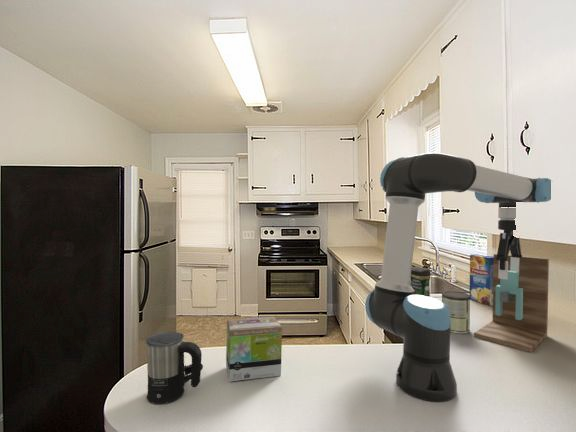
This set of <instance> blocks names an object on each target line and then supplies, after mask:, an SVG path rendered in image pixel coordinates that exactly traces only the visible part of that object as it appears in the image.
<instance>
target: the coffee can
mask: <svg viewBox="0 0 576 432" xmlns="http://www.w3.org/2000/svg"><path fill="white" fill-rule="evenodd" d="M441 301H442V302H443V303H444V304H446V305H447V307H448V308H449V311H450V320H451V328H450V333H454V334H463V335H464V334H468V333H470V332H471V330H470V328H471V327H470V323H471V317H470V316H471V312H470V311H471V300H470V295H469V293H465V292H461V291H456V290H455V291H453V290H452V291H451V290H449V291H448V290H447V291H443V292H441Z"/></svg>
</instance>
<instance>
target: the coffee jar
mask: <svg viewBox="0 0 576 432" xmlns="http://www.w3.org/2000/svg"><path fill="white" fill-rule="evenodd" d="M430 279H431V270H430V269H429V268H424V267H419V266H414V267H413V266H412V268H411V277H410V285H411V287H412V288H413V289H414V295H424V296H426V297H431V295H430V294H431V293H430Z"/></svg>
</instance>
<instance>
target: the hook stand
mask: <svg viewBox="0 0 576 432" xmlns="http://www.w3.org/2000/svg"><path fill="white" fill-rule="evenodd" d="M493 256H494V262H493V305H492V321H490V322H489V323H487V324H486V325H484V326H482V327H481V328H479V329H478V330H476V331H474V332H473V337H475V338H477V337H478V338H477V339H482V340H484V339H485V341H490V342H493V343H496V344H500V345H504V346H508V347H511V348H515V349H519V350H522V351H526V352H530V353H533V352H534V350H535V349H537V348H538V346H539V345H540V344H541V343H542V342H543V341H544V340H545V339H546V338H547V337H548V325H549V324H548V323H549V322H548V321H549V320H548V319H549V317H548V314H549V278H550V277H549V273H550V270H549V267H550V265H549V264H550V258H543V257H542V258H541V257H532V256H523V255H522V258H520V257H518V258H519V279H518V288H522V289H523V319H521V320H517V319H515V315H516V298H515V299H513V300H511V301H509V302H508V303H507V302H503V304H502V315H500V316H498V315H495V300H496V286H497V285H500V278H498V270H499V260H496V257H497V253H494V254H493ZM511 257H512V256H511V254H508V258H507V261H508V270H509V271H510V260H511Z"/></svg>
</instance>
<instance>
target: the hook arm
mask: <svg viewBox="0 0 576 432" xmlns="http://www.w3.org/2000/svg"><path fill="white" fill-rule="evenodd" d="M515 298H516V295H515V294H509V292H508V291H500V301H501V302H507V303H508V302H509V301H511V300H513V299H515Z"/></svg>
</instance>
